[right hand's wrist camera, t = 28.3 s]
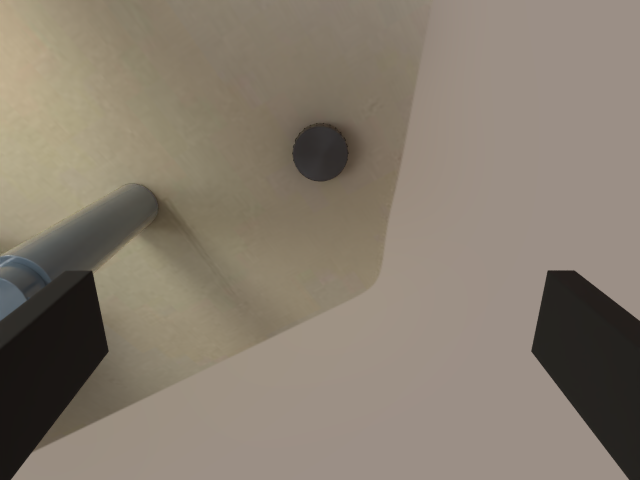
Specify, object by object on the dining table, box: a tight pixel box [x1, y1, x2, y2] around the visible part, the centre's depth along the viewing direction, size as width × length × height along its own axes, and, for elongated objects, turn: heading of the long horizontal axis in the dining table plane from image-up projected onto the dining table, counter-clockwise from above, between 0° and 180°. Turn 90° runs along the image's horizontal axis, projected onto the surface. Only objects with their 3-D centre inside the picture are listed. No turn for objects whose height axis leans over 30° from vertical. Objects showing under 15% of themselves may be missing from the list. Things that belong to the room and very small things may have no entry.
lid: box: [292, 123, 348, 181], centre depth 40 cm, size 5×5×2 cm
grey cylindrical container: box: [0, 184, 158, 321], centre depth 34 cm, size 4×4×20 cm
